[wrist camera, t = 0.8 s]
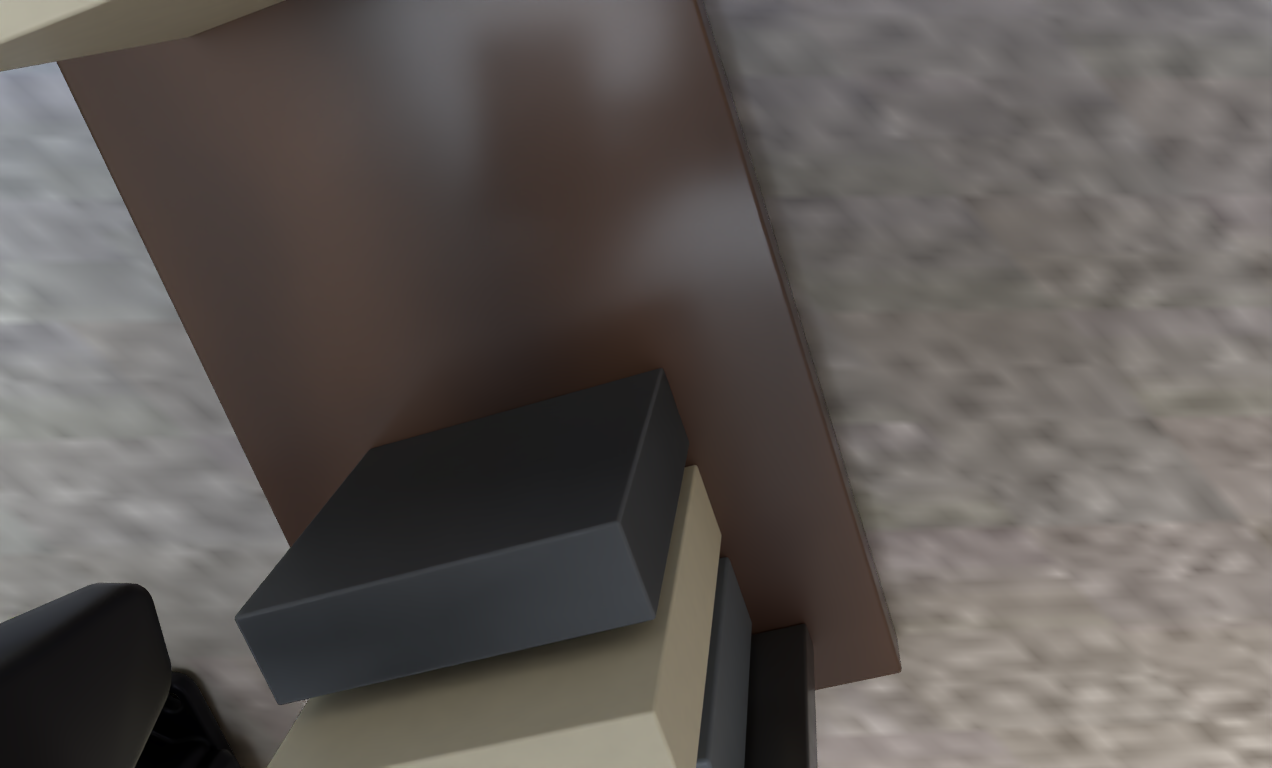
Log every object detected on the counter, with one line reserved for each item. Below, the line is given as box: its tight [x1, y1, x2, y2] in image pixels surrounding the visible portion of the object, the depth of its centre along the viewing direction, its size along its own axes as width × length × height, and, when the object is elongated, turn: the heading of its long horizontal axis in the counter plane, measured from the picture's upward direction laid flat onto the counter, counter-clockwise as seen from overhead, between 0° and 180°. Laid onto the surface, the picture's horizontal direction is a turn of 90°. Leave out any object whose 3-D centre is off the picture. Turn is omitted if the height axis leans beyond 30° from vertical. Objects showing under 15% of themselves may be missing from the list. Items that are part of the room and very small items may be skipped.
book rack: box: [56, 0, 902, 768], centre depth 19 cm, size 11×20×6 cm, turn 19°
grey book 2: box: [235, 368, 689, 705], centre depth 19 cm, size 6×2×6 cm, turn 109°
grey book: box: [696, 557, 752, 768], centre depth 21 cm, size 6×2×6 cm, turn 109°
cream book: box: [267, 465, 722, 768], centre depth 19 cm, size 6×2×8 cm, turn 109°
